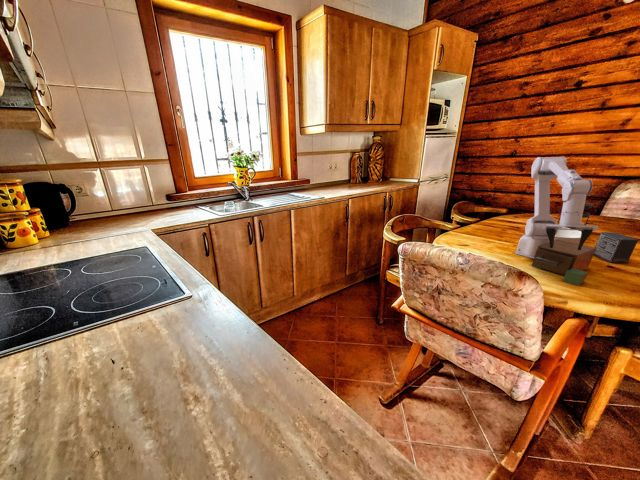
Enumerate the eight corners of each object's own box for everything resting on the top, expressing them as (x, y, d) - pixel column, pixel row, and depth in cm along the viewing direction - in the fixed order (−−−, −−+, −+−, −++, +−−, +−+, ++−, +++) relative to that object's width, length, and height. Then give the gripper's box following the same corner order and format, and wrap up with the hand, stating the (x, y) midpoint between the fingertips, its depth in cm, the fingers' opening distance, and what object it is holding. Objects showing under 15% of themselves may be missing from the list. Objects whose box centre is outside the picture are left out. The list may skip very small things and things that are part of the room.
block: (562, 281, 105) (566, 270, 103) (568, 278, 107) (572, 268, 105) (577, 285, 102) (582, 275, 100) (583, 282, 103) (588, 272, 101)
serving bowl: (577, 254, 126) (583, 240, 123) (520, 244, 141) (524, 231, 138) (585, 243, 138) (590, 230, 135) (531, 234, 153) (535, 222, 150)
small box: (629, 263, 116) (640, 239, 111) (610, 262, 117) (620, 239, 113) (607, 254, 125) (617, 231, 121) (590, 253, 126) (599, 231, 122)
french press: (582, 233, 150) (599, 190, 141) (585, 238, 144) (603, 193, 134) (553, 230, 157) (568, 189, 148) (554, 235, 150) (569, 192, 141)
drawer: (559, 277, 106) (566, 260, 103) (525, 267, 115) (530, 251, 112) (583, 267, 112) (590, 250, 109) (549, 258, 122) (554, 242, 119)
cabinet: (569, 276, 108) (577, 255, 104) (531, 265, 118) (538, 245, 115) (587, 268, 113) (596, 247, 110) (550, 258, 124) (557, 239, 120)
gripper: (544, 212, 107) (537, 247, 109) (599, 212, 96) (591, 251, 98) (547, 213, 111) (541, 246, 114) (601, 213, 100) (593, 250, 103)
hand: (564, 249), depth 106 cm, fingers open, 7 cm apart
